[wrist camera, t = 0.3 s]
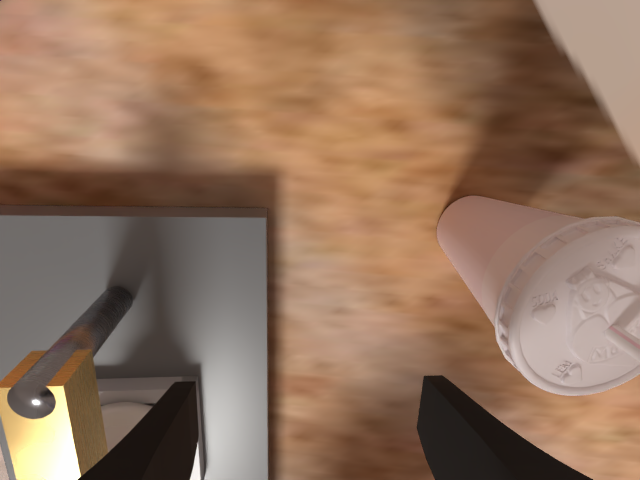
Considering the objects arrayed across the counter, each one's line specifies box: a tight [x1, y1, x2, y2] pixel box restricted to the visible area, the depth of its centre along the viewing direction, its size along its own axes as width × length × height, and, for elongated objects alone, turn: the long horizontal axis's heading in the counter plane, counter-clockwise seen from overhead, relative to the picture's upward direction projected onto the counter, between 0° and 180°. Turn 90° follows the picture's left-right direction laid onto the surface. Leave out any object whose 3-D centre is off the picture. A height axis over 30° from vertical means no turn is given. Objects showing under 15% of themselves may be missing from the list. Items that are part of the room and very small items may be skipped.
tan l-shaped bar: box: [0, 286, 133, 480], centre depth 18 cm, size 15×2×7 cm, turn 178°
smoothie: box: [437, 196, 640, 396], centre depth 16 cm, size 6×6×14 cm
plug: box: [101, 402, 156, 452], centre depth 20 cm, size 6×6×5 cm
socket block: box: [0, 205, 269, 480], centre depth 22 cm, size 20×14×3 cm
